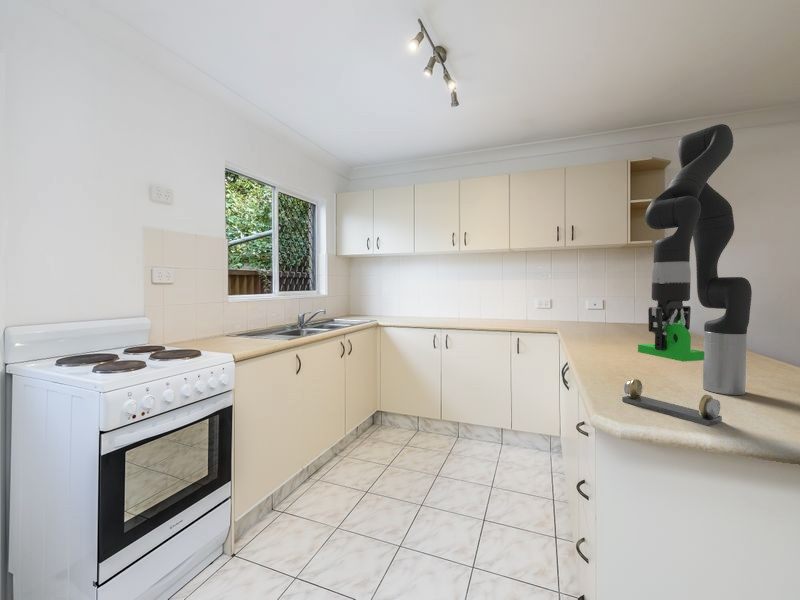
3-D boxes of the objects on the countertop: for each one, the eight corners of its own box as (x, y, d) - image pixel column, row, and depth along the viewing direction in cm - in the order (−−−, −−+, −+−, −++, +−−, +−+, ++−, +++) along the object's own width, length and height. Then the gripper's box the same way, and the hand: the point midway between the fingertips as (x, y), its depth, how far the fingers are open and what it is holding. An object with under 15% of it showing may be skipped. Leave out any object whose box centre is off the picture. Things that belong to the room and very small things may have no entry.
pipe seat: (634, 398, 98) (635, 376, 98) (721, 421, 81) (722, 395, 81) (622, 401, 95) (622, 379, 95) (709, 426, 78) (709, 398, 78)
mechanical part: (704, 360, 82) (705, 325, 82) (683, 361, 81) (683, 326, 81) (657, 350, 94) (657, 320, 94) (637, 352, 93) (638, 321, 93)
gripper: (669, 281, 94) (668, 344, 94) (636, 281, 87) (635, 348, 88) (704, 281, 87) (702, 349, 87) (671, 280, 80) (669, 354, 81)
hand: (669, 348), depth 88 cm, fingers closed on mechanical part, 7 cm apart
